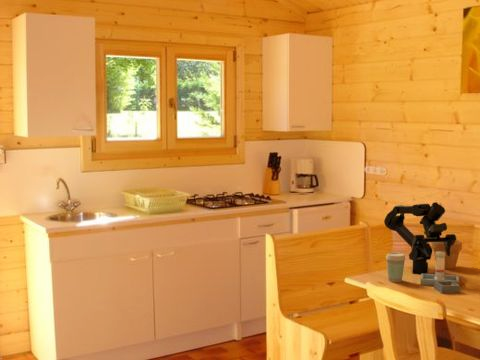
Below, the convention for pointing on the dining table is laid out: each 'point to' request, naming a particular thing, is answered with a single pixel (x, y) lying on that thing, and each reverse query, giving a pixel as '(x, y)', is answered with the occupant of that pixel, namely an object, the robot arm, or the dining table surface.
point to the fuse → (439, 265)
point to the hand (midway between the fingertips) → (438, 256)
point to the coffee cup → (395, 266)
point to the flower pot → (454, 252)
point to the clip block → (446, 287)
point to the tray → (430, 278)
